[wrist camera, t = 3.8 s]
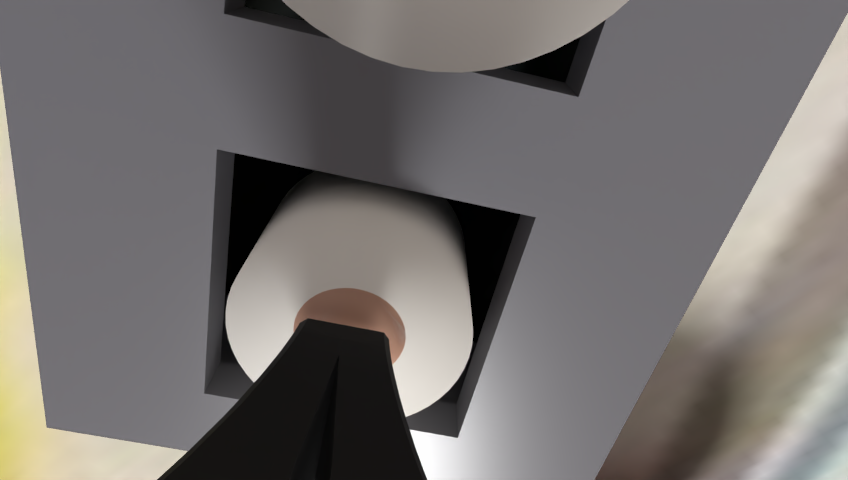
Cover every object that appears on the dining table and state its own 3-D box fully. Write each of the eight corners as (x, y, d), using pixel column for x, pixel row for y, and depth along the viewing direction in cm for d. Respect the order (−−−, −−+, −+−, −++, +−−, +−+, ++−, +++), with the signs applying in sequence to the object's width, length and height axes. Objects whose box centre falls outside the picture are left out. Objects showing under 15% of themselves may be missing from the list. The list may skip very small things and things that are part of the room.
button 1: (261, 312, 13) (219, 403, 11) (279, 139, 11) (233, 199, 9) (439, 346, 14) (440, 441, 11) (488, 185, 12) (503, 255, 9)
